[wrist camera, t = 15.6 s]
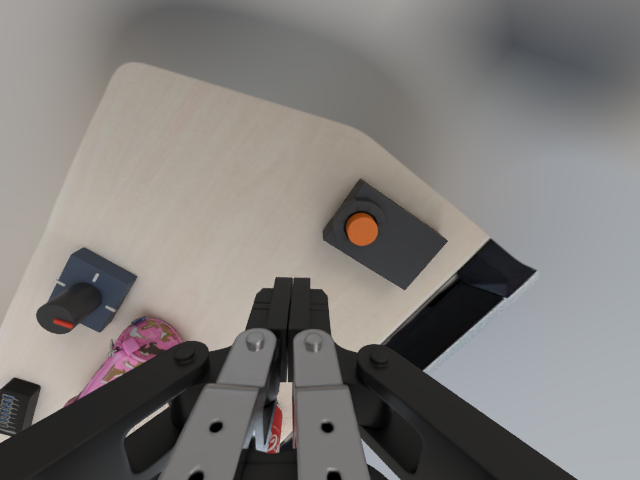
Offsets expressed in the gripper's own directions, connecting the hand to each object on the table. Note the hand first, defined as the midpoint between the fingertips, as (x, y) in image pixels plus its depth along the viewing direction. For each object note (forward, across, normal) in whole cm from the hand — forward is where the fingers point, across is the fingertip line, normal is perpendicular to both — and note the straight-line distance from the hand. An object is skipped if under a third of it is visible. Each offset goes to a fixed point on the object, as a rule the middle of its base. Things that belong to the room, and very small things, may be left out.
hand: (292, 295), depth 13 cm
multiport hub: (+29, +48, +41) cm, 70 cm away
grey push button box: (+29, -11, +7) cm, 31 cm away
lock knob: (+26, +30, +17) cm, 44 cm away
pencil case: (+29, +27, +31) cm, 50 cm away
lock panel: (+29, +30, +17) cm, 45 cm away
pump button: (+24, -7, +5) cm, 25 cm away
